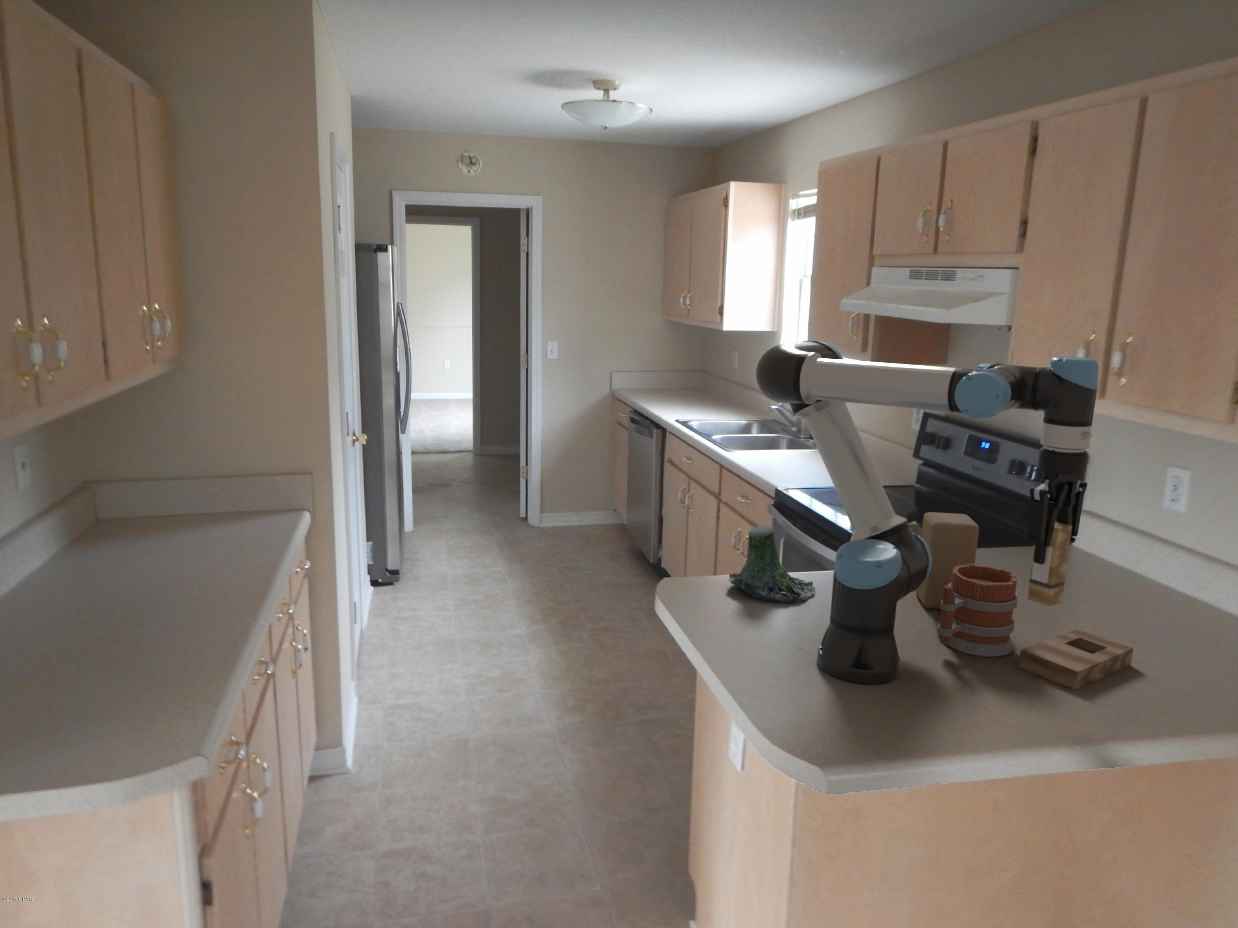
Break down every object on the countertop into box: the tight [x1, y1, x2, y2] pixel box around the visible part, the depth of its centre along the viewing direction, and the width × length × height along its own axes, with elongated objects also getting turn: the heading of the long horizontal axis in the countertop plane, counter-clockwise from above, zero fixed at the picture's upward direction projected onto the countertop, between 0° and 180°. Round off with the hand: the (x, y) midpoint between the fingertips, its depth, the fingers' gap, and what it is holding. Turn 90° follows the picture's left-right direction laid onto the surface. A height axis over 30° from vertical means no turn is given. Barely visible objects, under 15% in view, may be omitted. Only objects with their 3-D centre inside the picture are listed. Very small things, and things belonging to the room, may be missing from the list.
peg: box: [1027, 522, 1072, 607], centre depth 156 cm, size 4×4×14 cm
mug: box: [936, 564, 1019, 658], centre depth 177 cm, size 14×19×15 cm
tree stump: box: [728, 525, 816, 604], centre depth 204 cm, size 18×20×18 cm
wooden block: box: [914, 511, 980, 610], centre depth 200 cm, size 10×10×20 cm
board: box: [1018, 628, 1134, 690], centre depth 171 cm, size 20×11×4 cm, turn 124°
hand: (1047, 577), depth 157 cm, fingers closed on peg, 4 cm apart
